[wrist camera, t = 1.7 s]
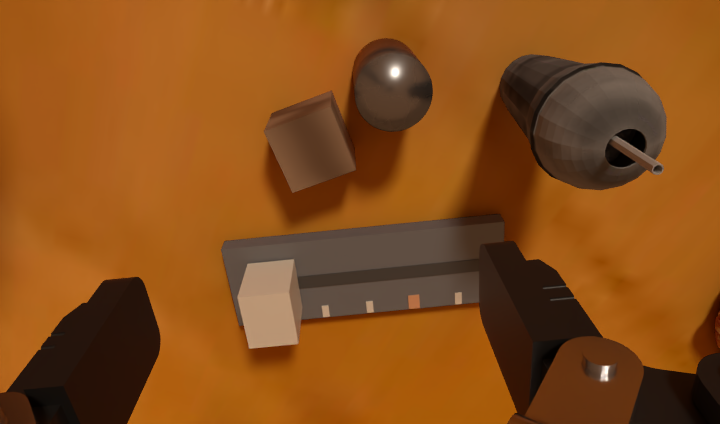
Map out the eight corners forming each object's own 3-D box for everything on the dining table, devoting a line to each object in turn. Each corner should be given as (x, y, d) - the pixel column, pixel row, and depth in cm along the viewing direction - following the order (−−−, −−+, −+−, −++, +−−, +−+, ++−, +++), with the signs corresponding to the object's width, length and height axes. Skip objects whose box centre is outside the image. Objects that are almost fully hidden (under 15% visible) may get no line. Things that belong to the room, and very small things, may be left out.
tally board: (242, 315, 49) (239, 326, 48) (224, 241, 46) (221, 250, 44) (497, 290, 49) (502, 300, 48) (499, 213, 46) (504, 222, 44)
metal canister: (355, 108, 41) (358, 135, 35) (349, 41, 39) (351, 57, 33) (419, 101, 41) (433, 127, 35) (416, 35, 39) (431, 49, 33)
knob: (257, 311, 47) (249, 348, 43) (247, 263, 45) (237, 297, 40) (302, 307, 47) (298, 343, 43) (294, 259, 45) (288, 292, 40)
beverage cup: (533, 146, 43) (673, 280, 25) (462, 99, 41) (558, 208, 23) (595, 69, 41) (799, 157, 22) (522, 15, 39) (683, 64, 21)
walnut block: (297, 168, 43) (292, 192, 39) (272, 112, 41) (263, 131, 37) (354, 148, 43) (356, 170, 38) (331, 90, 41) (330, 106, 36)
